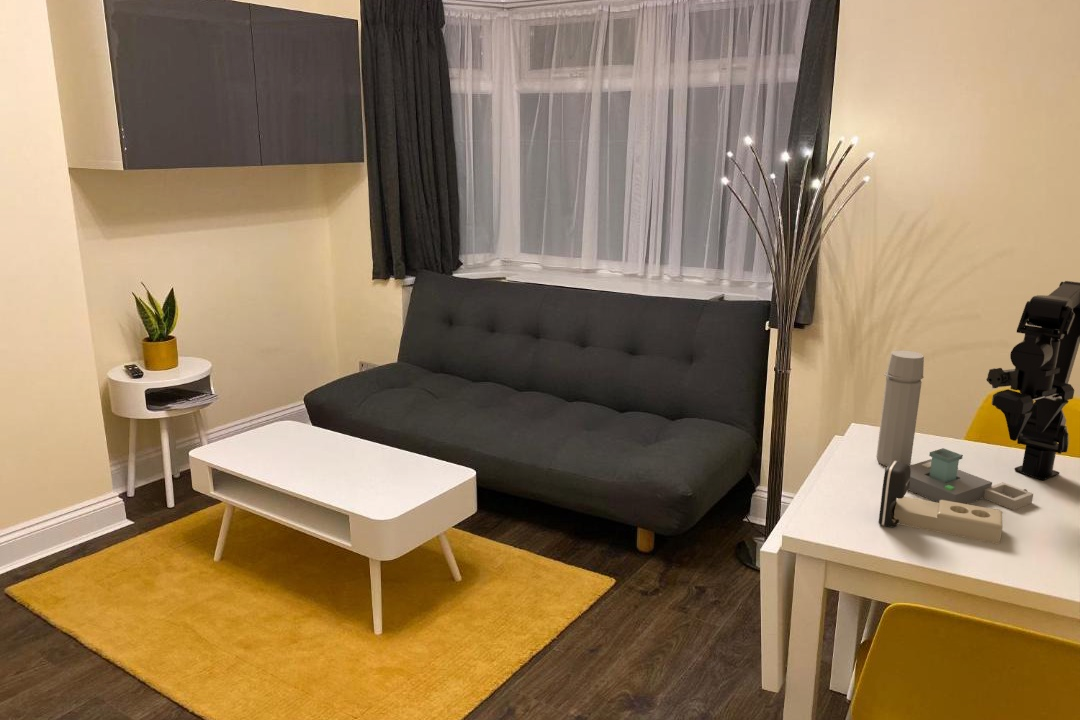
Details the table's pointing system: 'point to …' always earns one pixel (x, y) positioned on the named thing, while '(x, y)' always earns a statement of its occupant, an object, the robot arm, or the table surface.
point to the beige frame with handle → (1013, 503)
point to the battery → (893, 491)
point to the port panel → (946, 485)
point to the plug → (944, 465)
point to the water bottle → (900, 407)
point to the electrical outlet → (950, 518)
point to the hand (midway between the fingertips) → (1026, 436)
